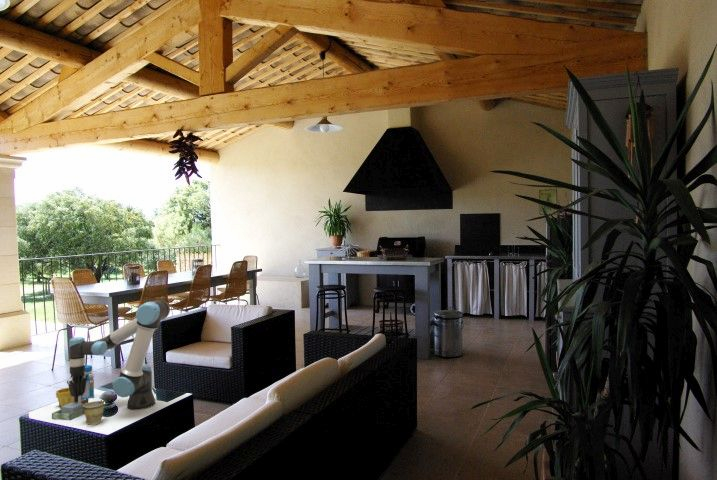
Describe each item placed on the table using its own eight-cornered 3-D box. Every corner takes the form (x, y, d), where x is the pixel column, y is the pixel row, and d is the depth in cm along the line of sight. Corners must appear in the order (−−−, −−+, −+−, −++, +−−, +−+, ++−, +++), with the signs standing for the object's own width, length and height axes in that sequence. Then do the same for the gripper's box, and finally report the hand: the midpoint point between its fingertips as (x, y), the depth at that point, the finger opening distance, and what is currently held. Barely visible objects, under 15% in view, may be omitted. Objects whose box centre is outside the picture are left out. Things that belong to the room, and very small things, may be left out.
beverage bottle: (80, 402, 290) (79, 369, 290) (77, 398, 297) (76, 366, 297) (95, 398, 296) (95, 366, 296) (92, 395, 302) (91, 363, 302)
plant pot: (67, 410, 277) (67, 393, 277) (52, 409, 279) (51, 392, 279) (81, 404, 287) (80, 387, 287) (66, 403, 289) (65, 386, 289)
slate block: (83, 412, 268) (83, 403, 268) (73, 417, 261) (73, 407, 261) (71, 411, 270) (71, 402, 270) (61, 416, 263) (60, 407, 263)
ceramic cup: (94, 427, 249) (93, 407, 249) (78, 425, 252) (78, 406, 252) (113, 418, 262) (113, 399, 262) (98, 416, 264) (98, 398, 264)
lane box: (104, 406, 281) (104, 399, 282) (70, 422, 257) (70, 414, 257) (87, 405, 284) (87, 398, 284) (51, 421, 259) (51, 413, 259)
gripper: (80, 362, 277) (81, 403, 277) (62, 368, 264) (63, 411, 264) (91, 362, 275) (92, 404, 275) (73, 368, 263) (74, 412, 263)
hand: (78, 407), depth 270 cm, fingers closed
